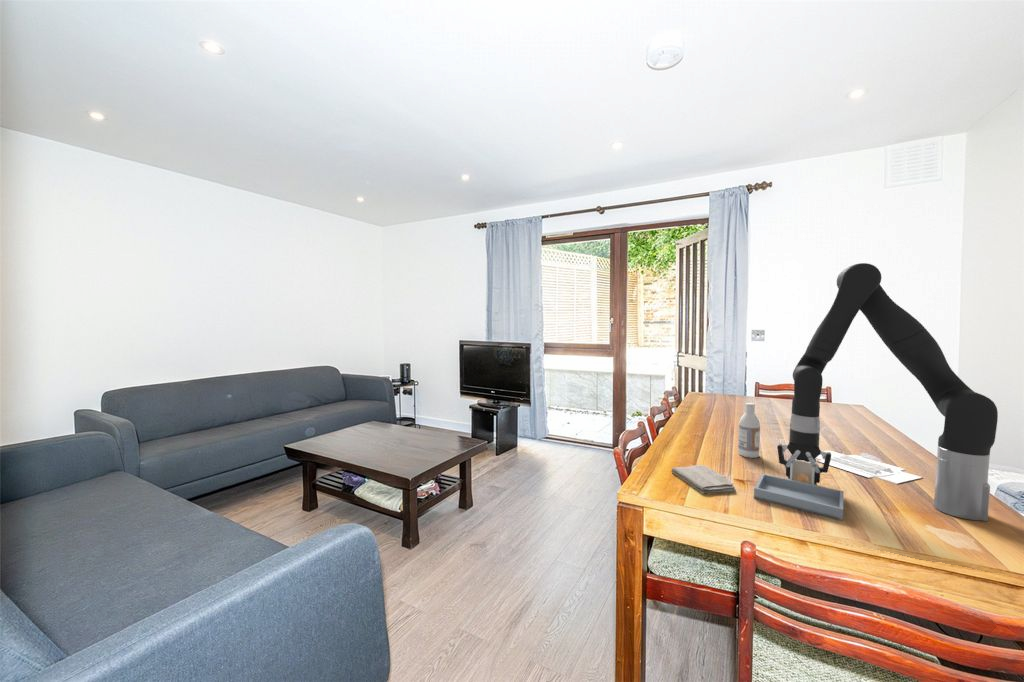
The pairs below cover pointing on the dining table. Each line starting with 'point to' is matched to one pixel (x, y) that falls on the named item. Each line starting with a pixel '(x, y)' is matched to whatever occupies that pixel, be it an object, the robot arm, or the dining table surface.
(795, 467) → the white cube stool
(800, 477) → the ball
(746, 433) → the bath foam
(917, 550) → the dining table surface
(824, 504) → the tray
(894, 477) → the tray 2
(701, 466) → the washcloth
